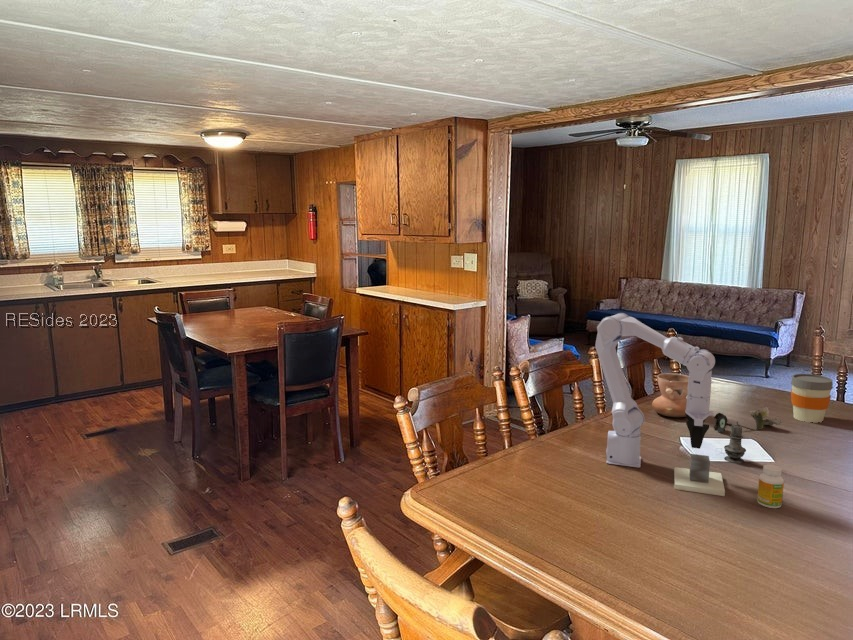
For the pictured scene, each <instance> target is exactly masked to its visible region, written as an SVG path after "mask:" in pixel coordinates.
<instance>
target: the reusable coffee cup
mask: <svg viewBox="0 0 853 640" xmlns="http://www.w3.org/2000/svg"><path fill="white" fill-rule="evenodd" d="M790 384H791V390H790V396H791V397H790V400H791V404H792V411H793V418H794V419H795V420H798V421H801V422H804V421H805V422H804V423H810V422H813V423H812V424H818V422H820V423H823V422H822V421H824V418H825V414H826V410H827V409H828V408H829V405H830V402H831V396H832V395H831V391H832V390H834V389H833V388H834V387H833V379H832V378H830V377H827V376H824V375H819V374H812V373H795V374H793V375H792V376H791V380H790Z"/></svg>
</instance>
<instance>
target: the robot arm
mask: <svg viewBox="0 0 853 640" xmlns="http://www.w3.org/2000/svg"><path fill="white" fill-rule="evenodd" d="M596 330H597V334H596V338H595V339H596V340H595V345H594V347H595V350H596V354H597V356H598V360H599V363H600V365H601V368H602V372H603V375H604V379H605V381H606V384H607V388H608V390H609V394H610V397H611V400H612V408H611V414H612V422H611V423H612V424H611V425H612V428H613V430H608V432H607V440H606V443H607V444H606V451H605V455H606V462H605V463H606V464H610V465H617V466H624V467H632V468H641V464H642V456H641V454H640V453H641V436H642V432H641V427H642V426H643V425H644V424H645V415H644V413H643V411H642V410H641V409H640V407H639V406H638V403H637V402H636V401H635V400H634V399H633V398H632V395H631V392H630V389H629V387H628V383H627V381H626V377H625V373H624V372H623V371H624V370H623V368H622V365H621V362H620V359H619V355H618V352H617V349H616V347H617V345H618V344H619V342H620V340H621V339H622V338H623V337H634V336H635V337H636V338H639V339H642V340H643V341H644V342H645V341H646V342H648V343H650V344H652V345H654V346H655V347H658V348H660V349H661V351H662V354H663V355H664V356H666V357H668V358H670V359H671V360H673V361H675V362H677V363H679V364H681V365H682V366H686V369H687V370H688V376H689V378H688V391H687V397H686V398H687V405H686V409H685V415H686V417H685V418H687V419H686V420H687V421H685V423H686V424H685V425H686V427H687V429H688V432H689V433H688V434H689V439H690V446H691V448H692V449H701V447H702V445H703V441H704V437H705V435H706V434H707V432H708V430H709V429H710V424H705V421H706V420H707V418H708V417H710V416H715V412H714V411H712V410H710V406H711V405H710V404H711V391H712V377H713V376H712V375H713V374H712V373H713V370H712V369H713V368H714V367H715V365H716V358H715V356H714V354H713V353H712V352H710V351H709V349H700V347H699V346H694V345H692V344H689V343H687V341H684V337H681V336H678V337H676V336H672V337H667V336H665V335H663V334H661V333H660V332H658V331H657V330H655V329H653V328H651V327H650V326H648V325H646V324H645V323H642V321H640V320H639V319H637V318H636V317H633V316H629V315H628V314H626V313H624V312H619V313H616V314H614V315H611V316H605V317H603V318H602V319H601V321H600V322H599V323H598V324H597V326H596Z"/></svg>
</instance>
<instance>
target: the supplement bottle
mask: <svg viewBox="0 0 853 640" xmlns="http://www.w3.org/2000/svg"><path fill="white" fill-rule="evenodd" d="M782 471H783V470H782V468H781V467H780V466H777V465H775V464H764V465H763V467H762V472H761V473H760V474H759V476H758V477H759V478H758V486H757V487H758V489H757V500H756V501H757V503H758V504H759V505H761V506H763V507H766V508H769V509H778V508H781V507H782V504H783V494H784V486H785V484H784V483H785V480H784V477H783V476H781V475H782V473H783V472H782Z"/></svg>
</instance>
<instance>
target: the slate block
mask: <svg viewBox="0 0 853 640" xmlns="http://www.w3.org/2000/svg"><path fill="white" fill-rule="evenodd" d="M710 466H711V460H710V456H709V455H704V454H697V453H690V460H689V469H690V472H689V476H690V481H695V482H702V483H708V482H709V472H710V468H711V467H710Z"/></svg>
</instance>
